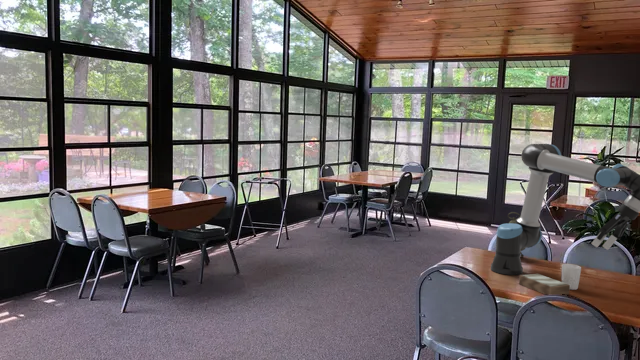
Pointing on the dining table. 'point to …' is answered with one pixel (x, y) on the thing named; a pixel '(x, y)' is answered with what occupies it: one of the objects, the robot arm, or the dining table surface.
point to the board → (544, 284)
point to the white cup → (571, 275)
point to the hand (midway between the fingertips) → (599, 246)
